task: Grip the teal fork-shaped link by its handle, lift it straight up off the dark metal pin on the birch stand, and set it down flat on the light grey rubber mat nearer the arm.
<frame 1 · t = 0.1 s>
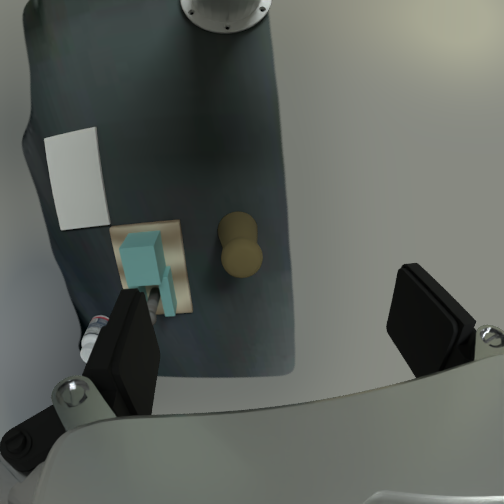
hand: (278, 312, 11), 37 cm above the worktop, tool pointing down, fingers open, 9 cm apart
link: (151, 273, 50), point 1 cm above the worktop, touching stand
cork: (237, 230, 49), on the worktop
mat: (76, 180, 43), on the worktop
pill bottle: (104, 325, 55), on the worktop
stand: (153, 269, 51), on the worktop
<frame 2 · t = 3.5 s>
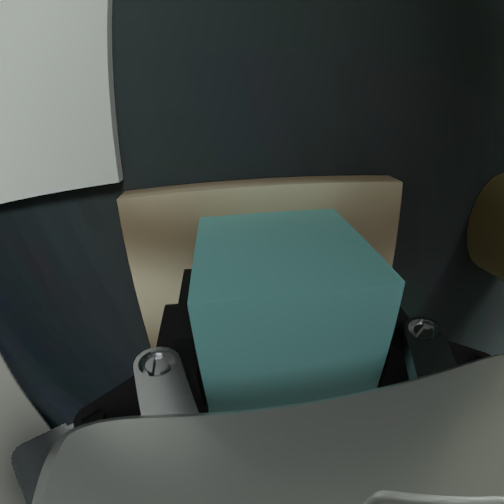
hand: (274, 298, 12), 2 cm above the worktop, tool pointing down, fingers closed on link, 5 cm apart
link: (270, 355, 15), point 1 cm above the worktop, touching gripper, stand
cork: (498, 221, 15), on the worktop
mat: (19, 32, 8), on the worktop
stand: (267, 339, 16), on the worktop
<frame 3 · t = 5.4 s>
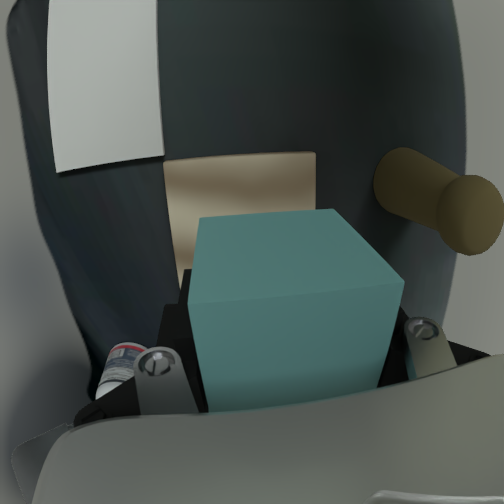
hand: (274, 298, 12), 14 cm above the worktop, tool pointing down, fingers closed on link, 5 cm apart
link: (270, 355, 15), point 13 cm above the worktop, touching gripper
cork: (401, 180, 26), on the worktop
mat: (101, 68, 19), on the worktop
pill bottle: (134, 358, 31), on the worktop
stand: (244, 252, 27), on the worktop
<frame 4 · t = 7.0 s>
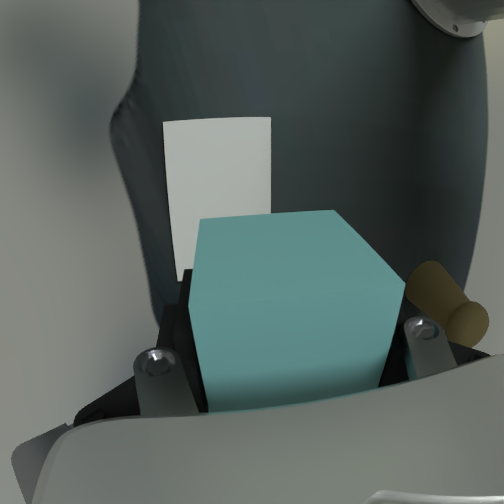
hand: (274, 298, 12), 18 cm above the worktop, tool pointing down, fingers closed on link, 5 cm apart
link: (271, 356, 15), point 17 cm above the worktop, touching gripper
cork: (424, 281, 36), on the worktop
mat: (219, 201, 29), on the worktop
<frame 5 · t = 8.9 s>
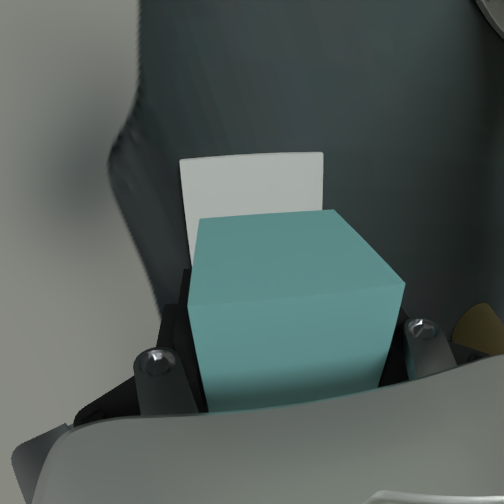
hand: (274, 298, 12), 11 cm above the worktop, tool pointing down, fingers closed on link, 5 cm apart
link: (270, 356, 15), point 9 cm above the worktop, touching gripper
cork: (471, 324, 29), on the worktop
mat: (256, 260, 23), on the worktop
when the fingers open (3 cm above the worktop, at t = 10.7 s): link drops 1 cm, resting on mat.
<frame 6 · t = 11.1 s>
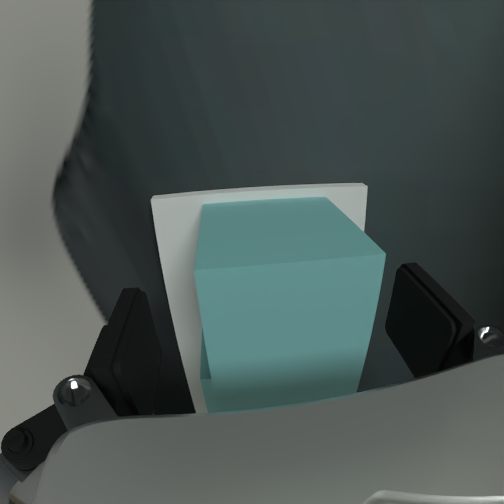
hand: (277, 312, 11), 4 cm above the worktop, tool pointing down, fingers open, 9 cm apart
link: (268, 336, 16), point 1 cm above the worktop, touching mat
mat: (265, 330, 17), on the worktop
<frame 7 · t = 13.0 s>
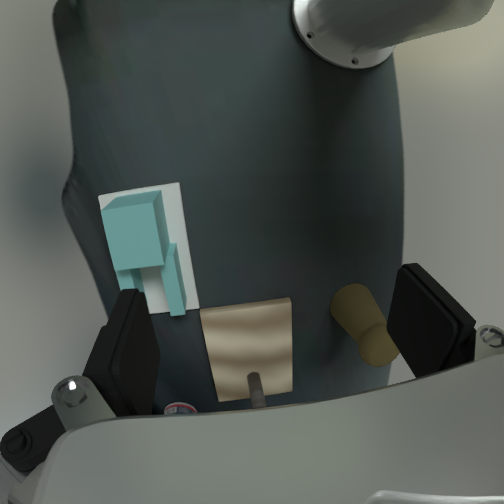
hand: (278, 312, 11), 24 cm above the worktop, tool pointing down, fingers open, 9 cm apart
link: (149, 254, 35), point 1 cm above the worktop, touching mat
cork: (350, 302, 42), on the worktop
mat: (150, 253, 35), on the worktop
pill bottle: (180, 410, 46), on the worktop
stand: (250, 352, 43), on the worktop
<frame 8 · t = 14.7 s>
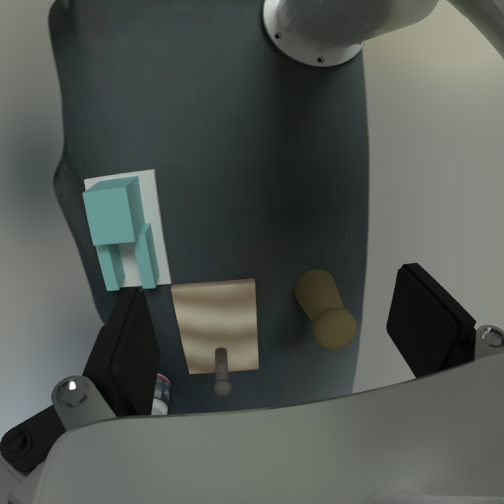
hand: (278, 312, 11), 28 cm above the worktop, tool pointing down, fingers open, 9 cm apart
link: (127, 233, 38), point 1 cm above the worktop, touching mat
cork: (314, 287, 45), on the worktop
mat: (128, 232, 39), on the worktop
pill bottle: (155, 381, 51), on the worktop
stand: (218, 328, 46), on the worktop
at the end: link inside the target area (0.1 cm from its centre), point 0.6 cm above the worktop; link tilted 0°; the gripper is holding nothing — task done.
